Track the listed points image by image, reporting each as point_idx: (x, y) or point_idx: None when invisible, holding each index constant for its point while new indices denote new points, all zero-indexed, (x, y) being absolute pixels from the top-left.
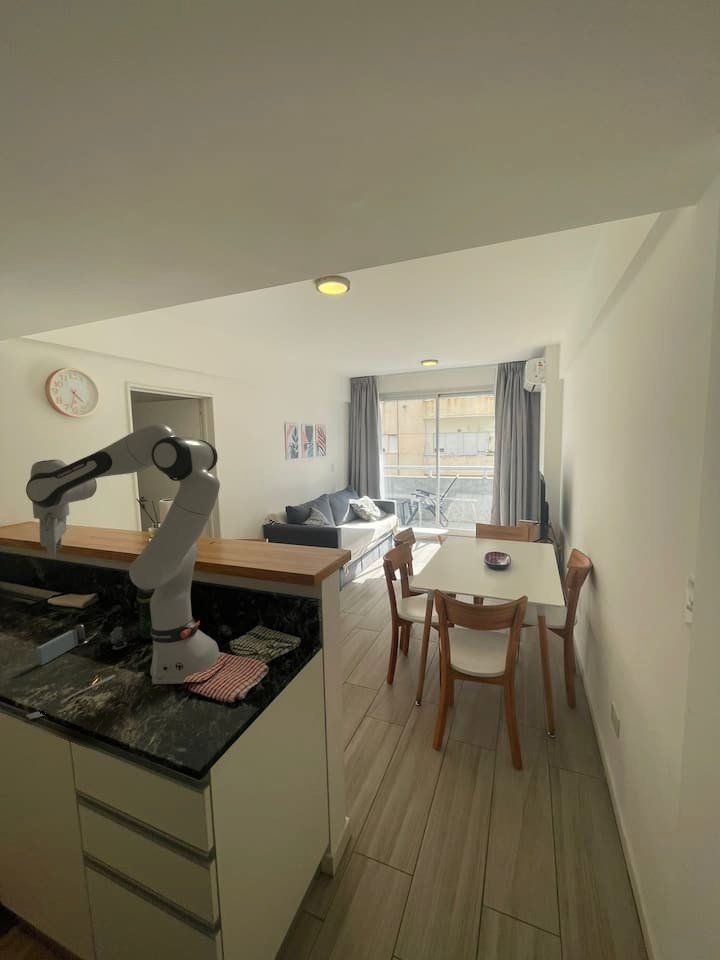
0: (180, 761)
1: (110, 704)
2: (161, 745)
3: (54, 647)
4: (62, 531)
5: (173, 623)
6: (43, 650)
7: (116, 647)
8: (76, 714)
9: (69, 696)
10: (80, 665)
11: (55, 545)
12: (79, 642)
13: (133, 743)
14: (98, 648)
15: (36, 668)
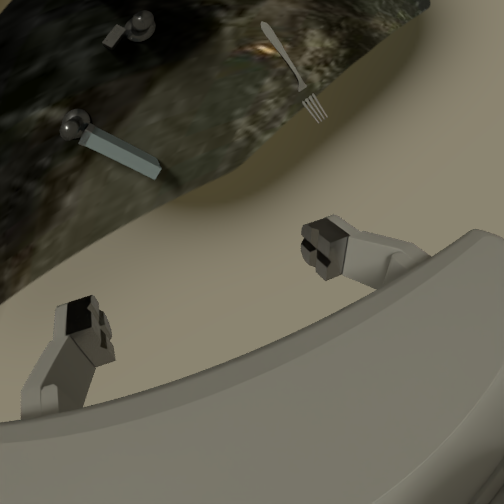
0: (424, 9)
1: (336, 33)
2: (409, 12)
3: (135, 151)
4: (124, 465)
5: None
6: (156, 164)
7: (146, 32)
8: (335, 68)
9: (298, 79)
10: (188, 84)
11: (401, 255)
12: (83, 123)
13: (399, 27)
14: (123, 71)
15: None
